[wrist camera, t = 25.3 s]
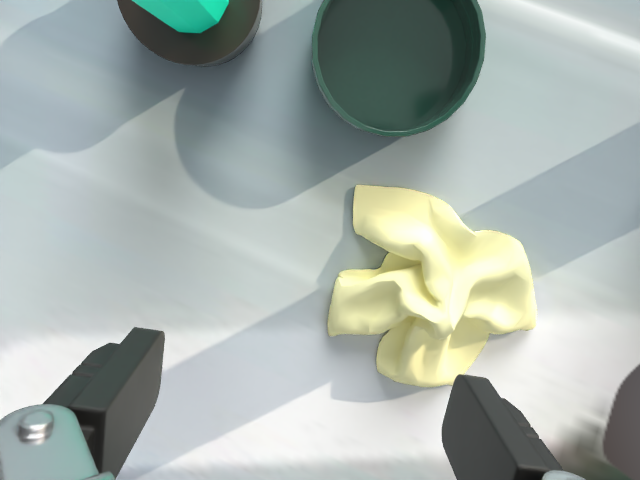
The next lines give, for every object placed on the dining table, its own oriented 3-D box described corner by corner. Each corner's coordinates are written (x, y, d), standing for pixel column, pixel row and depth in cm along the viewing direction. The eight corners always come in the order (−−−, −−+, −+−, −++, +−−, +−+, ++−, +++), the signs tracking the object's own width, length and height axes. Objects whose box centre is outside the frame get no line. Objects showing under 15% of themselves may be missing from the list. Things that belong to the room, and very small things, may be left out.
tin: (451, -54, 37) (467, -73, 33) (481, 111, 40) (498, 110, 36) (293, -7, 37) (291, -21, 34) (334, 152, 41) (337, 155, 37)
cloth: (570, 287, 44) (610, 313, 38) (436, 417, 48) (454, 460, 42) (400, 133, 40) (416, 136, 34) (267, 287, 44) (261, 313, 38)
